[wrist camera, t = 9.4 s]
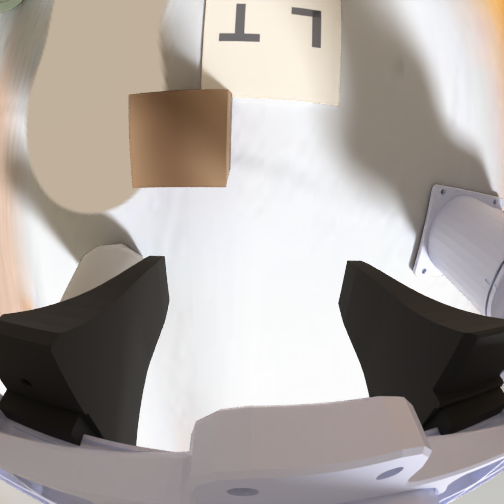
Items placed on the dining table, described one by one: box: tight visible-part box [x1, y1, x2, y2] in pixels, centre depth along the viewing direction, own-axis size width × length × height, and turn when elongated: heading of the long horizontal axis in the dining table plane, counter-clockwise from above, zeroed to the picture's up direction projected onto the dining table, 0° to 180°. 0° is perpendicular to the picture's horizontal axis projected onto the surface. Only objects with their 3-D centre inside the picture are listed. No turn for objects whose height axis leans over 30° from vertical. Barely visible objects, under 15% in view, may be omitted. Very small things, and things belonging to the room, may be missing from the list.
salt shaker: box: [60, 244, 143, 302], centre depth 16 cm, size 6×6×13 cm
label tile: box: [201, 0, 341, 106], centre depth 15 cm, size 9×11×1 cm
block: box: [129, 89, 232, 188], centre depth 16 cm, size 5×5×5 cm
